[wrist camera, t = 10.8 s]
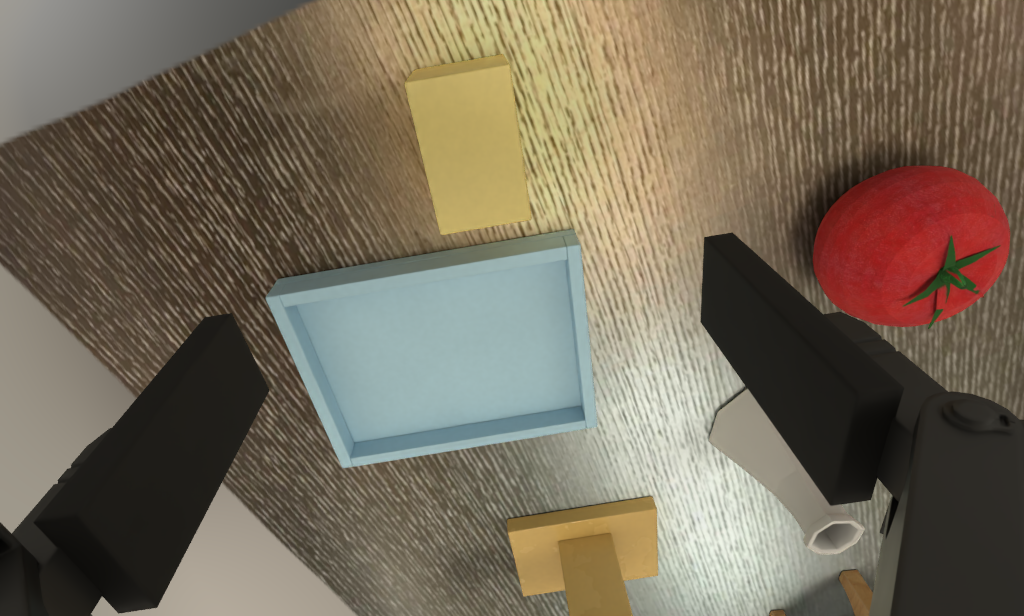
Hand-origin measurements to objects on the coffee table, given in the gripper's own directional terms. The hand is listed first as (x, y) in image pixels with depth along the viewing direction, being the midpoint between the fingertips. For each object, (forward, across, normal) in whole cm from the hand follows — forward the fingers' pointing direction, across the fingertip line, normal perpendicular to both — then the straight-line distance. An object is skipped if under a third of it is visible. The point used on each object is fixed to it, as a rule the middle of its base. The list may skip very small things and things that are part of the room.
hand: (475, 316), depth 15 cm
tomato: (+16, +22, -7) cm, 28 cm away
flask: (+16, +17, -22) cm, 33 cm away
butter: (+16, 0, +2) cm, 16 cm away
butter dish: (+16, -4, -11) cm, 20 cm away
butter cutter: (+16, +3, -33) cm, 37 cm away
